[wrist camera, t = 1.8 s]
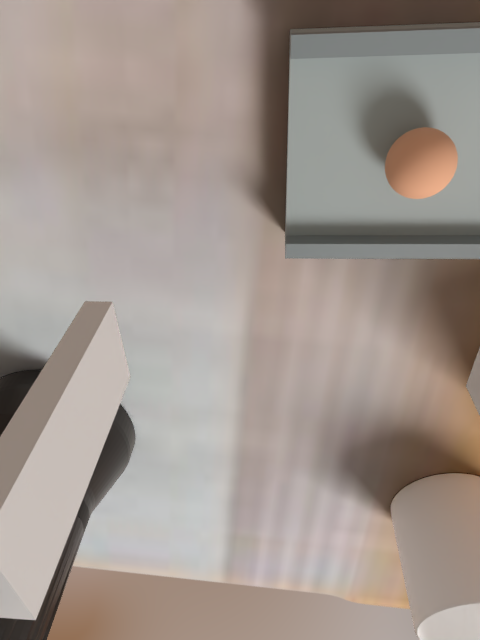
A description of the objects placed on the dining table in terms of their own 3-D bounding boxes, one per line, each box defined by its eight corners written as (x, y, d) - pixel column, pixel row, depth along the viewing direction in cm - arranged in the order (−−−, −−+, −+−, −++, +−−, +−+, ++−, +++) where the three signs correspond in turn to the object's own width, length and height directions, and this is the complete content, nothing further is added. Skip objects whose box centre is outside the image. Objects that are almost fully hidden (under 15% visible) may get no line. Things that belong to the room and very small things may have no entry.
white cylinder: (469, 541, 53) (511, 665, 43) (373, 523, 52) (394, 644, 43) (528, 484, 46) (593, 616, 36) (418, 462, 45) (454, 591, 36)
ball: (375, 185, 27) (386, 209, 24) (384, 120, 25) (398, 138, 22) (438, 185, 27) (457, 209, 24) (453, 119, 24) (476, 137, 22)
